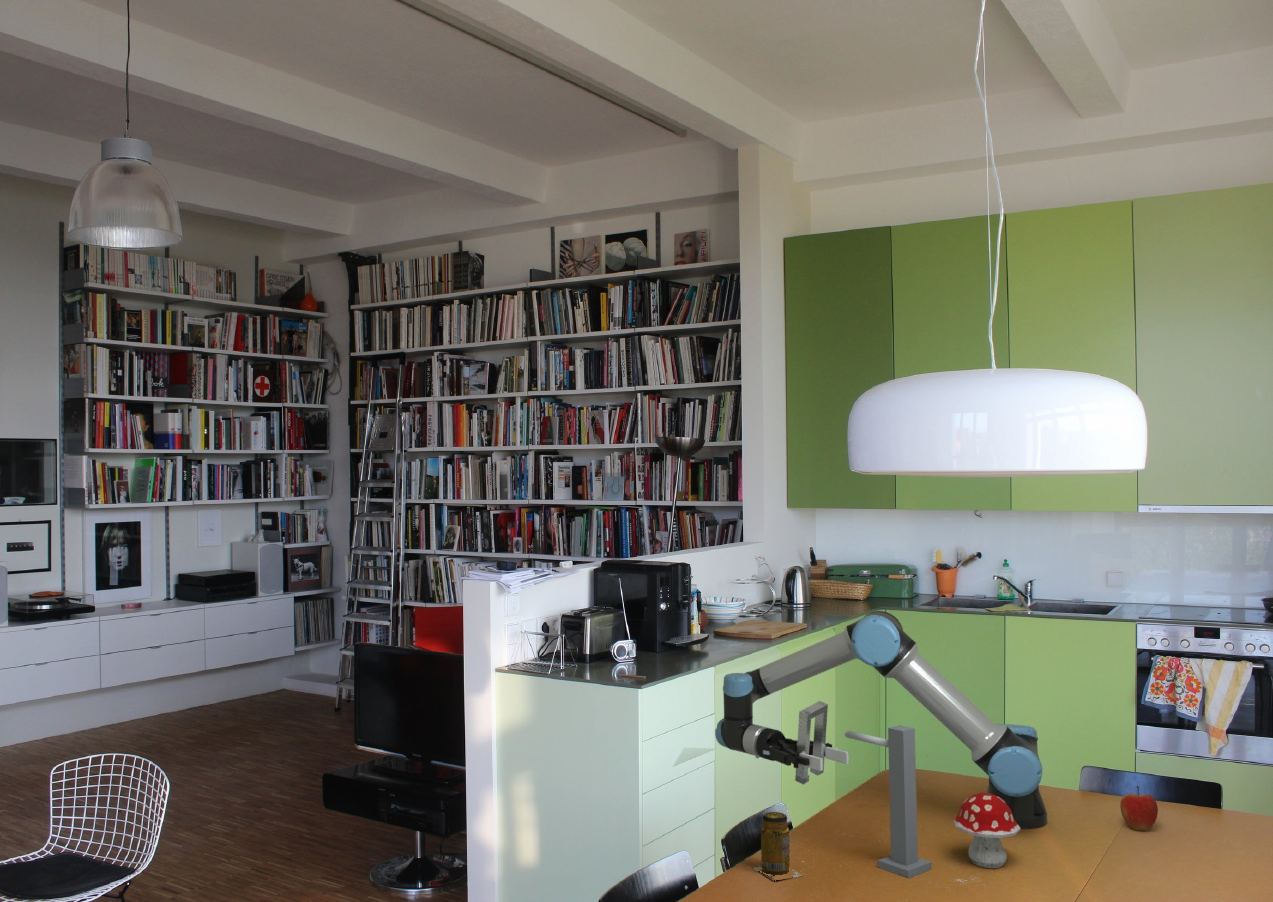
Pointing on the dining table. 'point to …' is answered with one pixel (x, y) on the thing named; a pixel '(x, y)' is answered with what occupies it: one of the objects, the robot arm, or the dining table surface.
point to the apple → (1139, 811)
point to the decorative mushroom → (986, 828)
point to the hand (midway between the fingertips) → (834, 761)
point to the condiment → (775, 845)
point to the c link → (803, 741)
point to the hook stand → (900, 801)
